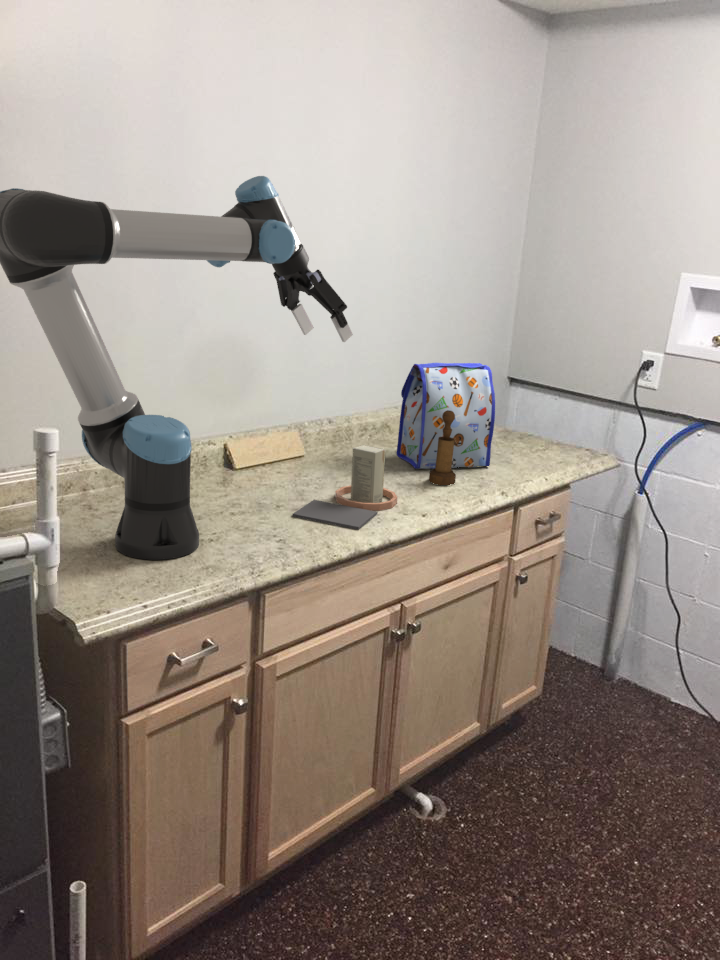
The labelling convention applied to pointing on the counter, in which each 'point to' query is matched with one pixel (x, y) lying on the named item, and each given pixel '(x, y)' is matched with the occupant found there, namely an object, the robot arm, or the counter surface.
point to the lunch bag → (437, 393)
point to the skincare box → (367, 474)
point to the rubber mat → (335, 514)
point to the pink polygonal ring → (366, 506)
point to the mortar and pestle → (444, 454)
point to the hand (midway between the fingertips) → (327, 334)
